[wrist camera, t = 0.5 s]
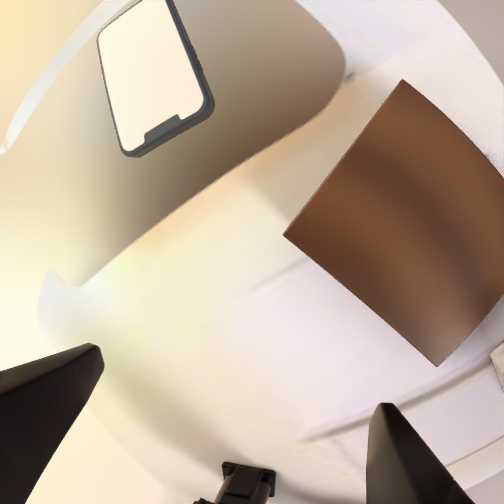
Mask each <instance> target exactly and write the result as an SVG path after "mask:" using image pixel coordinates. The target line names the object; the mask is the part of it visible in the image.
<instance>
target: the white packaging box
mask: <svg viewBox="0 0 504 504" xmlns="http://www.w3.org/2000/svg"><path fill="white" fill-rule="evenodd" d="M490 357H491V359H492V362H493V364H494V367H495V369H496V372H497V375H498V377H499V380H500V383H501V386H502V389H503V392H504V342H503V343H502V344H501V345H500V346H499V347H497V348H496V349H495V350H494V351H492V352H491V353H490Z"/></svg>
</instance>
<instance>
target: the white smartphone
mask: <svg viewBox="0 0 504 504" xmlns="http://www.w3.org/2000/svg"><path fill="white" fill-rule="evenodd" d="M97 46H98V52H99V58H100V63H101V68H102V73H103V78H104V83H105V88H106V92H107V96H108V100H109V105H110V109H111V113H112V118H113V122H114V126H115V129H116V133H117V137H118V141H119V144H120V148H121V151H122V152H123V154H124V155H126V156H128V157H134V158H138V157H142V156H143V155H145V154H147V153H148V152H150V151H151V150H153V149H155V148H156V147H158V146H160V145H161V144H163V143H165V142H167V141H168V140H170V139H172V138H173V137H175V136H177V135H178V134H180V133H182V132H184V131H186V130H188V129H189V128H191V127H193V126H195V125H197V124H199V123H201V122H203V121H204V120H206V119H207V118H208V117H209V116H210V115H211V114H212V112H213V110H214V107H215V102H214V98H213V95H212V93H211V91H210V88H209V86H208V83H207V81H206V78H205V76H204V73H203V69H202V67H201V64H200V62H199V60H198V59H197V55H196V52H195V50H194V48H193V46H192V44H191V42H190V40H189V37H188V35H187V33H186V30H185V28H184V25H183V23H182V21H181V18H180V16H179V14H178V12H177V9H176V7H175V5H174V2H173V0H140V1H139V2H138V3H136V4H135V5H133V6H132V7H131V8H129V9H128V10H126V11H125V12H124V13H122V14H121V15H120V16H118V17H117V18H116V19H114V20H113V21H112V22H110V23H109V24H108V25H107V26H105V27H104V28H103V29H102V30H101V32H100V33H99V35H98V37H97Z"/></svg>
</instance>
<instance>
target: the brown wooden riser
mask: <svg viewBox="0 0 504 504" xmlns="http://www.w3.org/2000/svg"><path fill="white" fill-rule="evenodd" d="M283 236H284V237H285V238H287V239H288V240H289V241H290V242H291V243H293V244H294V245H295V246H296V247H298V248H299V249H300V250H301V251H302V252H304V253H305V254H306V255H307V256H309V257H310V258H311V259H312V260H313V261H315V262H316V263H317V264H318V265H320V266H321V267H322V268H323V269H324V270H326V271H327V272H328V273H329V274H330V275H332V276H333V277H334V278H335V279H336V280H338V281H339V282H340V283H341V284H342V285H343V286H345V287H346V288H347V289H348V290H349V291H351V292H352V293H353V294H354V295H355V296H356V297H358V298H359V299H360V300H361V301H362V302H363V303H365V304H366V305H367V306H368V307H369V308H370V309H372V310H373V311H374V312H375V313H376V314H377V315H379V316H380V317H381V318H382V319H383V320H384V321H385V322H387V323H388V324H389V325H390V326H391V327H392V328H393V329H395V330H396V331H397V332H398V333H399V334H400V335H401V336H403V337H404V338H405V339H406V340H407V341H408V342H409V343H410V344H412V345H413V346H414V347H415V348H416V349H417V350H418V351H419V352H420V353H422V354H423V355H424V356H425V357H426V358H427V359H428V360H429V361H430V362H431V363H433V364H434V365H435V366H436V367H438V366H439V365H440V364H441V363H442V362H443V361H444V360H445V359H446V358H447V357H448V356H449V355H450V354H451V353H452V352H453V351H454V350H455V349H456V348H457V347H458V346H459V345H460V344H461V343H462V342H463V341H464V340H465V339H466V338H467V337H468V336H469V335H470V334H471V333H472V331H473V330H474V329H475V328H476V327H477V326H478V325H479V324H480V322H481V321H482V320H483V319H484V318H485V316H486V315H487V314H488V313H489V312H490V310H491V309H492V308H493V307H494V306H495V304H496V303H497V302H498V300H499V299H500V298H501V297H502V295H503V294H504V178H503V177H502V175H501V174H500V173H499V172H498V171H497V169H496V168H495V167H494V166H493V164H492V163H491V162H490V161H489V160H488V159H487V157H486V156H485V155H484V154H483V153H482V152H481V151H480V150H479V148H478V147H477V146H476V145H475V144H474V143H473V142H472V141H471V140H470V139H469V138H468V137H467V136H466V135H465V134H464V133H463V132H462V131H461V130H460V129H459V128H458V127H457V126H456V125H455V124H454V123H453V122H452V121H451V120H450V119H449V118H448V117H447V116H446V115H445V114H444V113H443V112H442V111H441V110H439V109H438V108H437V107H436V106H435V105H434V104H433V103H432V102H430V101H429V100H428V99H427V98H426V97H425V96H423V95H422V94H421V93H420V92H418V91H417V90H416V89H415V88H414V87H412V86H411V85H410V84H408V83H407V82H406V81H405V80H403V79H402V80H401V81H400V82H399V83H398V85H397V86H396V87H395V89H394V90H393V91H392V93H391V94H390V95H389V97H388V98H387V99H386V101H385V102H384V103H383V105H382V106H381V107H380V109H379V110H378V111H377V113H376V114H375V115H374V117H373V118H372V119H371V121H370V122H369V123H368V124H367V126H366V127H365V128H364V130H363V131H362V132H361V134H360V135H359V136H358V138H357V139H356V140H355V142H354V143H353V144H352V145H351V147H350V148H349V149H348V151H347V152H346V153H345V155H344V156H343V157H342V158H341V160H340V161H339V162H338V164H337V165H336V166H335V168H334V169H333V170H332V171H331V173H330V174H329V175H328V177H327V178H326V179H325V180H324V182H323V183H322V184H321V186H320V187H319V188H318V189H317V191H316V192H315V193H314V195H313V196H312V197H311V198H310V200H309V201H308V202H307V204H306V205H305V206H304V207H303V209H302V210H301V211H300V213H299V214H298V215H297V216H296V218H295V219H294V220H293V221H292V223H291V224H290V225H289V227H288V228H287V229H286V230H285V232H284V233H283Z"/></svg>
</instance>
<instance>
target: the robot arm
mask: <svg viewBox="0 0 504 504" xmlns="http://www.w3.org/2000/svg"><path fill="white" fill-rule="evenodd" d="M103 371H104V361H103V357H102V354H101V350H100V348H99V347H98V346H97V345H94V344H91V343H87V344H84V345H81V346H78V347H75V348H72V349H69V350H66V351H63V352H60V353H57V354H54V355H51V356H47V357H45V358H41V359H38V360H35V361H32V362H29V363H26V364H22V365H19V366H16V367H13V368H10V369H6V370H3V371H0V504H25V503H26V501H27V499H28V497H29V495H30V494H31V492H32V490H33V488H34V486H35V485H36V483H37V481H38V479H39V478H40V476H41V474H42V473H43V471H44V469H45V468H46V466H47V464H48V463H49V461H50V459H51V458H52V456H53V454H54V452H55V451H56V450H57V448H58V446H59V445H60V443H61V441H62V440H63V438H64V437H65V435H66V434H67V432H68V430H69V429H70V427H71V426H72V424H73V423H74V421H75V420H76V418H77V417H78V415H79V413H80V412H81V410H82V409H83V407H84V406H85V404H86V403H87V401H88V399H89V397H90V395H91V393H92V391H93V390H94V388H95V386H96V384H97V382H98V380H99V378H100V376H101V374H102V373H103ZM222 470H223V476H224V482H223V484H222V486H221V489H220V491H219V493H218V495H217V497H216V499H215V501H214V503H212V502H209V501H206V500H205V499H203V498H200V500H199V501H194V503H193V504H266V502H267V499H268V497H274V495H275V484H276V472H274V471H271V470H264V469H258V468H253V467H247V466H242V465H237V464H233V463H228V462H223V464H222ZM366 504H475V503H474V502H473V501H472V500H471V499H470V498H469V496H468V495H467V494H466V493H465V492H464V491H463V489H462V488H461V487H460V486H459V484H458V483H457V482H456V481H455V480H454V478H453V477H452V476H451V474H450V473H449V472H448V471H447V469H446V468H445V467H444V466H443V464H442V463H441V462H440V461H439V459H438V458H437V457H436V456H435V454H434V453H433V452H432V451H431V449H430V448H429V447H428V446H427V444H426V443H425V442H424V441H423V439H422V438H421V437H420V436H419V434H418V433H417V432H416V431H415V429H414V428H413V427H412V426H411V424H410V423H409V422H408V421H407V420H406V418H405V417H404V416H403V415H402V413H401V412H400V411H399V410H398V408H397V407H396V406H395V405H394V404H393V403H379V404H378V406H377V408H376V410H375V412H374V414H373V416H372V418H371V420H370V424H369V436H368V451H367V463H366Z"/></svg>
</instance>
